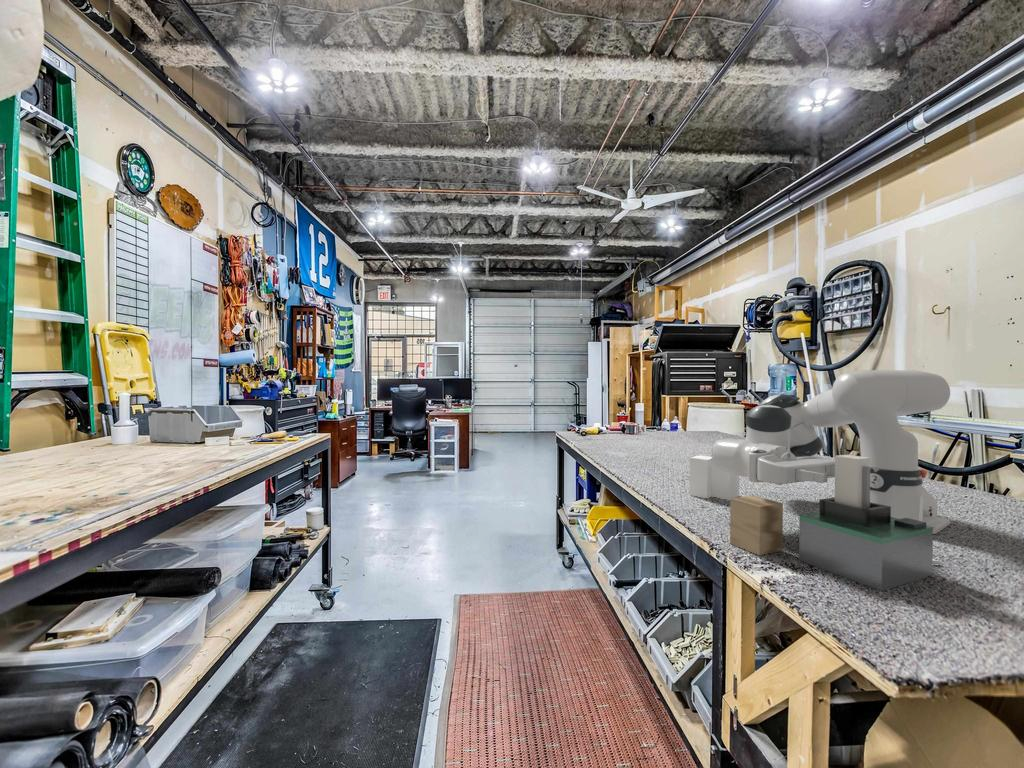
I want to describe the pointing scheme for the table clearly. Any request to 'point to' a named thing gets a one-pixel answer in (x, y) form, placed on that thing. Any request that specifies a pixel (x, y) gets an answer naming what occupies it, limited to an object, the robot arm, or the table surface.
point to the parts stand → (756, 524)
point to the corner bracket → (711, 479)
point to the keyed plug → (852, 480)
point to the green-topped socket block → (866, 544)
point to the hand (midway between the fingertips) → (840, 476)
